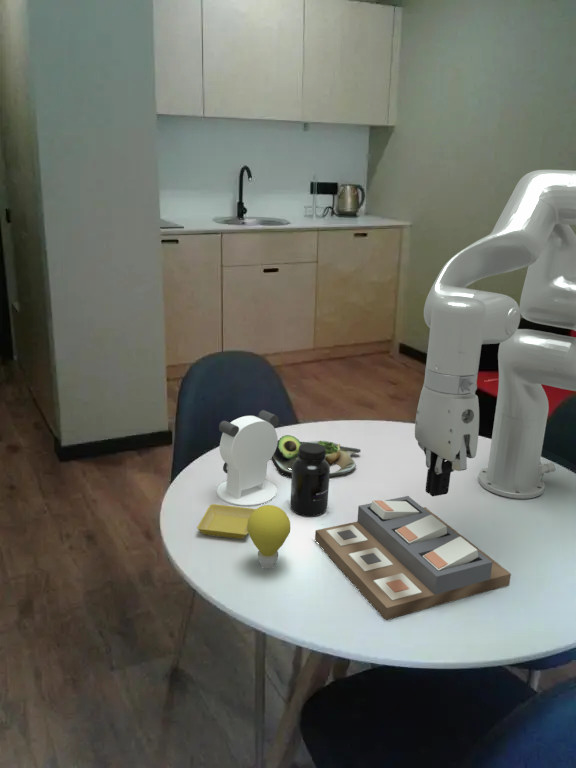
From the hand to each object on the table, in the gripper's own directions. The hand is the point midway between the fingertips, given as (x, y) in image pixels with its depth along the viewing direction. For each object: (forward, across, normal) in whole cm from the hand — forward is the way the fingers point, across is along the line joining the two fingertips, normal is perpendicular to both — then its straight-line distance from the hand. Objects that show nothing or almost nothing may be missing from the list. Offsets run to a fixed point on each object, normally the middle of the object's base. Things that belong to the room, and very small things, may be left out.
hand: (436, 492), depth 105 cm
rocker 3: (+7, -7, +2) cm, 10 cm away
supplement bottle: (+12, +22, +11) cm, 27 cm away
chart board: (+12, 0, +4) cm, 12 cm away
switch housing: (+10, 0, +2) cm, 10 cm away
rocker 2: (+7, 0, +2) cm, 7 cm away
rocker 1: (+7, +8, +2) cm, 10 cm away
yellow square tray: (+13, +21, +27) cm, 36 cm away
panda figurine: (+12, +32, +19) cm, 39 cm away
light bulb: (+12, +8, +25) cm, 29 cm away
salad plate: (+12, +40, +2) cm, 42 cm away
